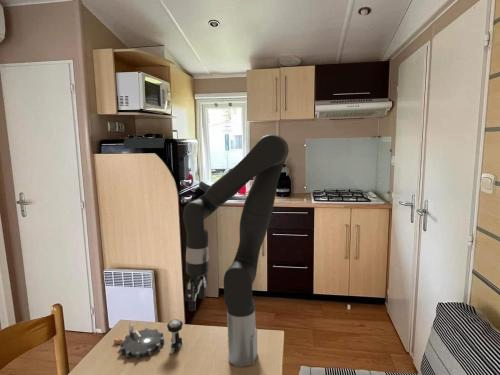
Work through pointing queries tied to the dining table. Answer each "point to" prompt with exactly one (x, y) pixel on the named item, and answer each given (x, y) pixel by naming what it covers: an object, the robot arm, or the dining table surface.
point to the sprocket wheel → (141, 342)
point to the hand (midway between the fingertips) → (197, 304)
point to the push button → (175, 334)
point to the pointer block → (117, 340)
